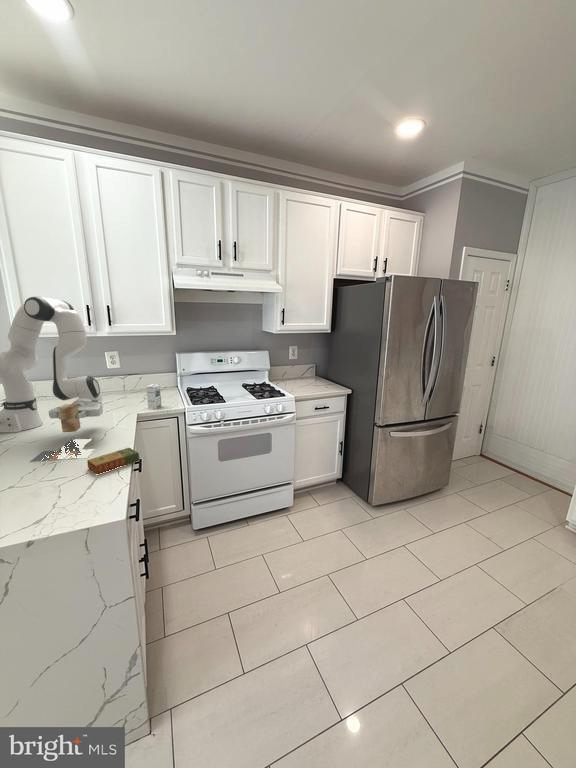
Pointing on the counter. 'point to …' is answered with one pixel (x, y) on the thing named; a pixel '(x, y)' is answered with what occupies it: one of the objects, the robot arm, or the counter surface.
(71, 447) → the t mat
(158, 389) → the syrup box
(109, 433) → the counter surface
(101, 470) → the carton
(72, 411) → the oak block
